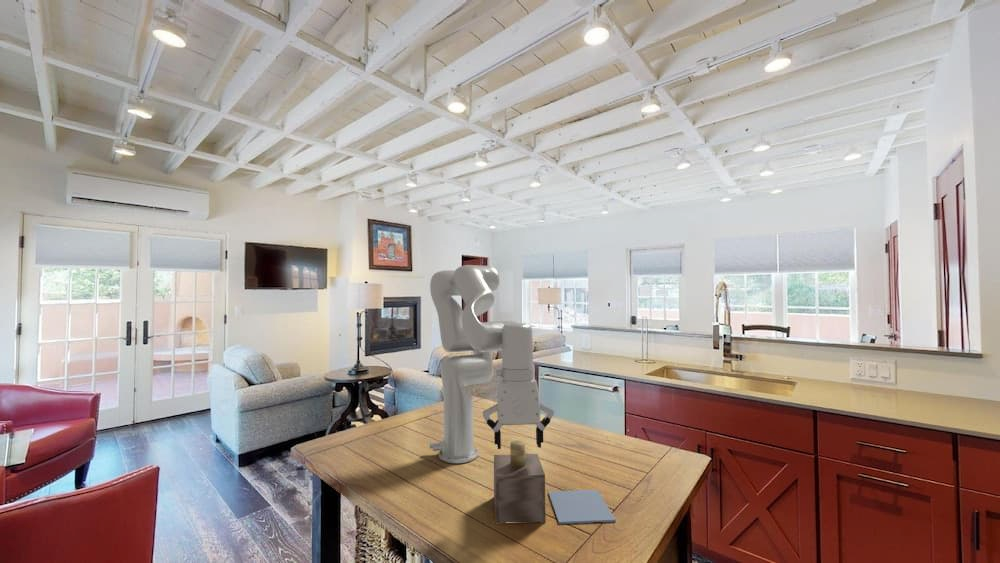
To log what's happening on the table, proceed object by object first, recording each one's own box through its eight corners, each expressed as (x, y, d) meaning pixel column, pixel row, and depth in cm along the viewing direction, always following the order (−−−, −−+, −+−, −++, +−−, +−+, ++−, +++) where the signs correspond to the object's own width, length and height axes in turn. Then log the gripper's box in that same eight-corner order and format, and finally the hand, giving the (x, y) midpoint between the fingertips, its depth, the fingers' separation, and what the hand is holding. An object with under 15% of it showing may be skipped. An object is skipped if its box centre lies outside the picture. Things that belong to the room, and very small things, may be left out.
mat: (558, 524, 84) (558, 521, 84) (548, 493, 97) (548, 491, 97) (615, 521, 85) (615, 519, 85) (597, 491, 98) (597, 489, 98)
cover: (496, 524, 84) (495, 453, 85) (494, 497, 95) (493, 435, 96) (545, 522, 85) (544, 452, 85) (537, 495, 96) (537, 434, 96)
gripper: (482, 378, 87) (483, 454, 86) (556, 376, 88) (557, 451, 87) (482, 372, 94) (482, 441, 93) (549, 370, 95) (551, 439, 94)
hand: (518, 446), depth 90 cm, fingers open, 9 cm apart
